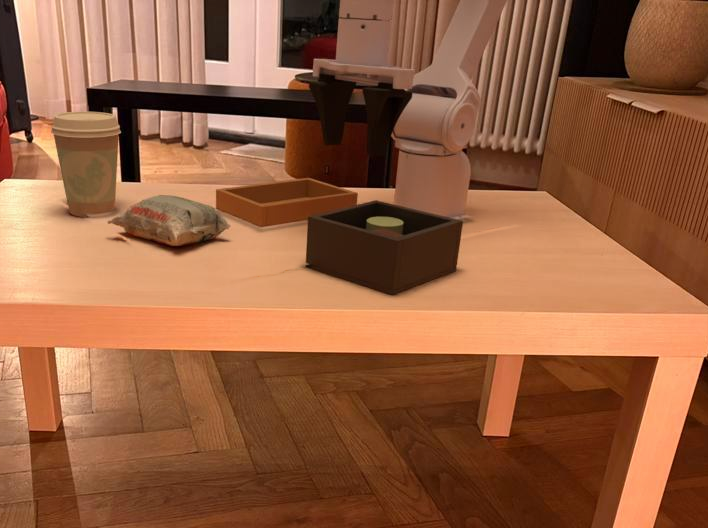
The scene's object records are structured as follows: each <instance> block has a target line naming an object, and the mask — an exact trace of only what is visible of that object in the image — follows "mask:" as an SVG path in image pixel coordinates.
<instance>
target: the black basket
mask: <svg viewBox="0 0 708 528" xmlns="http://www.w3.org/2000/svg"><path fill="white" fill-rule="evenodd" d="M371 217H392V218H397V219H400V220H402V221H403V222H404V224H403V233H402V235H404V236H401V237H397V238H395V237H392V236H388V235H384V234H381V233H377V232H373V231H369V230H366V222H367V219H368V218H371ZM463 225H464V221H463V220H462V219H460V220H457V219H453V218H449V217H445V216H440V215H436V214H432V213H428V212H423V211H419V210H415V209H411V208H407V207H402V206H398V205H394V203H389V202H385V201H381V200H377V199H374V200H372V201H367V202H362V203H357V205H354V206H350V207H346V208H342V209H338V210H334V211H329V212H325V213H321V214H317V215H312V216H308V220H307V231H306V249H305V264H306V265H305V268H308V269H311V270H314V271H318V272H321V273H323V274H327V275H330V276H334V277H335V278H339V279H342V280H345V281H348V282H351V283H355V284H357V285H361V286H363V287H366V288H369V289H373V290H376V291H379V292H382V293H385V294H388V295H391V296H393V295H394V296H395V295H396V294H400V293H401V292H404V291H407V290H409V289H413V288H414V287H415V288H416V287H417V286H420V285H422V284H426V283H428V282H430V281H433V280H435V279H438V278H440V277H443V276H444V277H445V276H446V275H448V274H451V273H454V272H456V271H457V267H458V260H459V253H460V246H461V240H462V232H463Z"/></svg>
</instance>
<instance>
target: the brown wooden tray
mask: <svg viewBox="0 0 708 528" xmlns="http://www.w3.org/2000/svg"><path fill="white" fill-rule="evenodd" d="M358 195H359V194H358V192H356V191H353V190H350V189H347V188H344V187H340V186H338V185H337V186H336V185H333V184H331V183H327V182H323V181H320V180H319V179H318V180H317V179H314V178H311V177H303V178H296V179H288V180H279V181H271V182H263V183H256V184H247V185H240V186H232V187H224V188H216V189H215V210H217V211H220V212H223V213H226V214H227V215H231V216H233V217H235V218H237V219H240V220H243V221H245V222H247V223H249V224H252V225H254V226H257V227H258V228H259V227H260V228H264V227H265V228H266V227H271V226H277V225H278V226H279V225H283V224H290V223H296V222H303V221H308V216H312V215H317V214H321V213H325V212H329V211H334V210H338V209H342V208H346V207H350V206H354V205H358V197H359V196H358Z"/></svg>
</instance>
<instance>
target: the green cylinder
mask: <svg viewBox="0 0 708 528" xmlns="http://www.w3.org/2000/svg"><path fill="white" fill-rule="evenodd" d="M403 224H404V222H403V221H402V220H400V219H397V218H392V217H371V218H368V219H367V222H366V230H369V231H372V230H378V229H383V228H384V229H387V230H390V231H393V232H396V233H399V234H402V233H403Z"/></svg>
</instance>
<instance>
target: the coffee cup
mask: <svg viewBox="0 0 708 528" xmlns="http://www.w3.org/2000/svg"><path fill="white" fill-rule="evenodd" d="M120 128H121V126H120V124H119V122H118V119H117V116H116V115H115V114H113V113H108V112H103V111H102V112H101V111H69V112H67V111H66V112H60V113H57V114H55V115H54V116H53V122H52V125H51V132H50V133H51V135H52V134H53V138H54V143H55V149H56V153H57V158H58V162H59V163H58V164H59V168H60V172H61V178H62V183H63V189H64V192H65V193H64V194H65V197H66V203H67V207H68V212H69V214H71V215H72V216H76V217H80V218H90V216H89V215H98V214H99V215H100V214H107V213H110V212H113V211H114V210H115V209H116V197H117V195H116V193H117V174H118V155H119V137H120V136H119V134H121V133H122V131H121V129H120Z"/></svg>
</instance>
